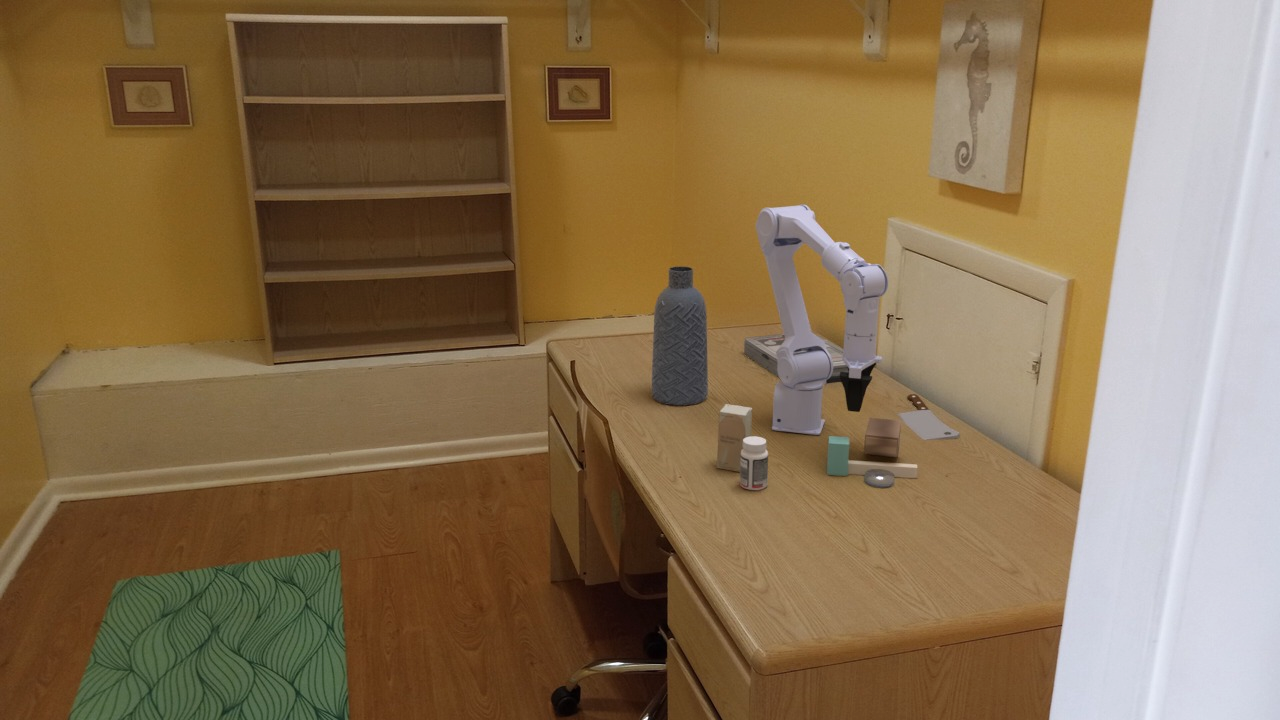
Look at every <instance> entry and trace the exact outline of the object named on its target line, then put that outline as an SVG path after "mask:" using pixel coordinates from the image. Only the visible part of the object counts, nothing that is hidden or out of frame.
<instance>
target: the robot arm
mask: <svg viewBox="0 0 1280 720" xmlns="http://www.w3.org/2000/svg"><path fill="white" fill-rule="evenodd" d="M754 227H755V231H756V233H757V234H756V235H757V238H758V242H759V245H760V251H761V253H762V254H763V255H764V256H763V257H764V260H765V263H766V268H767V271H768V275H769V280H770V283H771V287H772V291H773V295H774V296H773V297H774V300H775V304H776V308H777V311H778V315H779V319H780V323H781V327H782V331H783V334H784V336H785V341H784V342H783V343H782V345H781V346H780V347H779V348H778V350H777V351H776V355H777V360H778V365H777V371H778V375H779V377H778V378H779V379H780V381H777V382H776V383H775V387H774V392H773V401H772V403H773V407H772V426H771V430H772V431H777V432H786V433H795V434H796V433H797V434H806V435H814V436H820V435H821V433H822V430H823V427H824V425H825V422H826V419H824V418H822V410H823V408H822V407H823V406H822V405H823V391H824V386H825V385H827V384H826V380H827V379H829V378H830V377H831V375H832V372H833V360H832V357H831V356H830V354H829V352H828V351H827V349H826V346H825V342H824V341H823V340H822V339H820V338H819V337H817V336H816V335H817V334H816V335H814V334H815V333H814V332H813V331H812V328H811V324H810V320H809V316H808V312H807V309H806V305H805V304H806V303H805V301H804V296H803V293H802V289H801V285H800V282H799V281H800V280H799V277H798V274H797V269H796V266H795V261H794V256H795V253H796V252H797V251H798V250H799V249H801V247H802V246H803V245H804V244H805V245H806V246H808V247H809V248H810V249H812V250H813V251H814V252H815V253H816V254H818V256H820V257H821V259H820V261H821V266H822V267H823V268H824V269H825V270H826V272H828V273H829V274H831V276H833V278H835V279H836V280H837V282H839V285H840V286H839V287H840V290H841V293H842V296H843V305H844V308H845V320H844V321H845V322H844V324H845V325H844V336H843V337H844V338H843V349H844V350H843V354H842V360H843V361H844V363H845V364H846V365H847V368H848V371H849V372H840V376H839V377H840V380H841V382H840V383H841V384H842V388H843V390H844V393H845V394H844V395H845V401H846V402H845V403H846V409H847V411H848V412H853V413H854V412H855V413H860V411H861V408H862V405H863V402H864V397H865V394H866V391H867V388H868V386H869V385H870V383H871V381H872V380H873V375H871V373H872V372H873V369H874V368H875V366H876V364H877V363H878V364H881V363H882V362H883V357H882V356H881V355H876V353H877V342H878V340H877V339H878V330H879V329H878V328H879V313H880V300H881V299H880V297H883V296H884V295H885V294H886V292H887V290H888V287H889V277H888V274H887V272H886V270H885V269H884V268H883V266H882V265H881V264H878V263H873V264H871V263H870V262H869V263H867V261H866V260H865V259H864V258H863V257H861V256H860V255H859V254H857V252H855V251H854V250H853V249H852V248H851V245H850V244H849V243H848V242H843V241H837V242H836V241H835V240H833V239H832V238H831V237H830V236H831V235H829V234H828V233H827V232H826V231H825V229H823V227H822V226H820V224H819V223H818V221H816V215H815V211H813V210H811V208H810V207H809V206H808V205H806V204H798V205H790V206H781V207H764V208H762V209H761V210H760V212H759V213H758V217H757V220H756V221H755V226H754ZM813 333H814V334H813ZM800 351H806V352H801V353H795V354H793V353H794V352H800Z"/></svg>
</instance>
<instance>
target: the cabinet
mask: <svg viewBox="0 0 1280 720" xmlns="http://www.w3.org/2000/svg"><path fill="white" fill-rule="evenodd" d="M867 422H868V423H867V425H866V431H865V434H864V448H863V454H866V455H869V456H870V455H871V456H878V457H879V456H881V457H886V458H887V457H889V458H896V459H897V458H899V456H900V455H899V454H900V453H899V452H900V444H901V443H900V442H901V429H902V420H899V419H898V420H896V419H887V418H886V419H885V418H877V417H869V418H868V421H867Z"/></svg>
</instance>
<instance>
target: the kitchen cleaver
mask: <svg viewBox="0 0 1280 720" xmlns="http://www.w3.org/2000/svg"><path fill="white" fill-rule="evenodd" d="M906 399H908V400H909V401H908V400H907V401H908V402H911V401H912V402H913V403H912V402H911V403H912V405H913V407H914V406H915V407H916V410H912V411H906V412H901V413H896V415H897V416H898V417H899V418H900V419H901V421H902V422H903V423H904V424H905V425H906V427H908V428H910V430H912V431H913V432H914V433H915V434H916V435H918V437H920V438H921V439H922V440H923V441H924V440H925V441H931V440H934V439H937V440H955V439H954V438H957V439H959V438H960V436H961V435H960V434H961V433H960V432H959V431H957V430H955V429H953V428H951V427H950V426H948V425H947V424H945V423H944V422H942V421H941V420H940V419H939V418H938V417H937V416H936V415H935V414H934V413H933V411H931V410H930V409H929V407H928V406H927V405H926V403H925V402H924V401H923V400H922V399H921V397H920V396H919V395H918V394H915V393H912V394H908V395H907V396H906ZM915 407H914V408H915ZM947 434H948V435H947Z"/></svg>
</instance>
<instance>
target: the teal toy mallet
mask: <svg viewBox="0 0 1280 720" xmlns="http://www.w3.org/2000/svg"><path fill="white" fill-rule="evenodd" d="M827 444H828V445H827V457H826V459H827V461H826V474H827V476H841V477H847V476H848V475H857V476H858V475H859V476H865V472H866V471H868V470H871V469H883V470H887V471H890V472H892V473H893V474H894V475H895V478H905V479H906V478H907V479H917V478H918V470H919V469H918V464H917V463H916V464H914V463H913V464H912V463H899V462H898V463H896V462H886V461H885V462H883V461H881V462H880V461H868V460H867V461H866V460H852V459H851V460H850V459H849V455H850V437H849V436H835V435H834V436H833V435H832V436H831V435H829V436H828V443H827Z"/></svg>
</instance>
